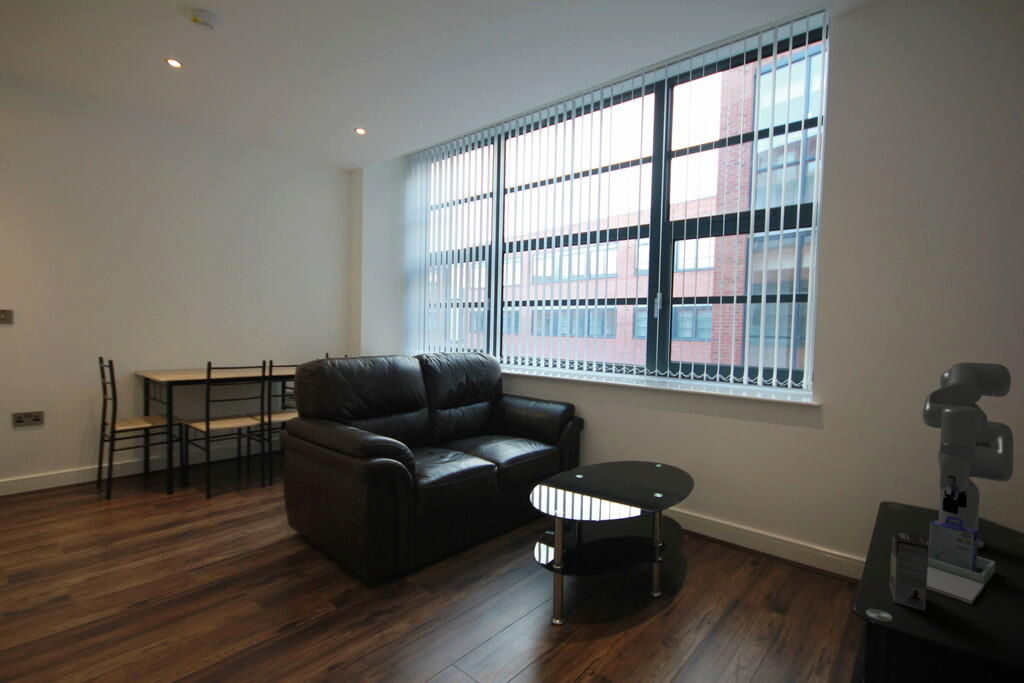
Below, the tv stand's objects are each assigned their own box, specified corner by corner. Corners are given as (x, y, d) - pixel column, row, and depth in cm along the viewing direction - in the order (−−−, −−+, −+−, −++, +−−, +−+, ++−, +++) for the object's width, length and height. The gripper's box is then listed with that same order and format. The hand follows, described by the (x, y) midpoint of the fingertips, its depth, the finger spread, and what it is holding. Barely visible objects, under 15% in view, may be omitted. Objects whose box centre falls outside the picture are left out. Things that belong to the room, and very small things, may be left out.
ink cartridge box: (977, 572, 137) (979, 522, 136) (973, 577, 133) (975, 526, 133) (932, 558, 144) (934, 511, 144) (927, 563, 141) (929, 515, 141)
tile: (917, 566, 139) (917, 562, 139) (983, 587, 128) (984, 584, 128) (901, 580, 131) (902, 576, 131) (971, 604, 119) (971, 600, 119)
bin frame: (924, 550, 149) (925, 541, 149) (994, 571, 137) (995, 561, 137) (910, 563, 141) (910, 553, 141) (983, 586, 128) (983, 575, 128)
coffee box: (888, 587, 127) (891, 527, 127) (919, 594, 123) (922, 533, 123) (893, 603, 119) (896, 539, 119) (927, 611, 116) (930, 546, 115)
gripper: (948, 445, 146) (945, 500, 146) (932, 451, 136) (929, 510, 136) (982, 450, 140) (979, 508, 140) (967, 457, 130) (964, 519, 130)
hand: (954, 509), depth 138 cm, fingers open, 9 cm apart
